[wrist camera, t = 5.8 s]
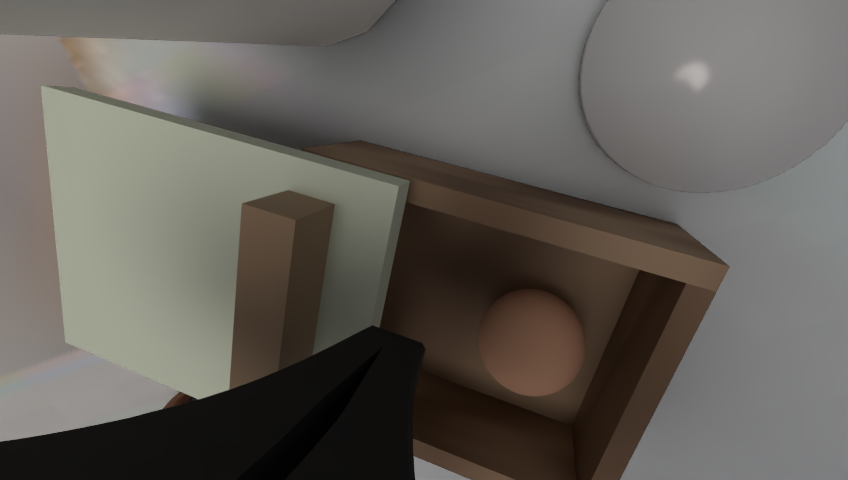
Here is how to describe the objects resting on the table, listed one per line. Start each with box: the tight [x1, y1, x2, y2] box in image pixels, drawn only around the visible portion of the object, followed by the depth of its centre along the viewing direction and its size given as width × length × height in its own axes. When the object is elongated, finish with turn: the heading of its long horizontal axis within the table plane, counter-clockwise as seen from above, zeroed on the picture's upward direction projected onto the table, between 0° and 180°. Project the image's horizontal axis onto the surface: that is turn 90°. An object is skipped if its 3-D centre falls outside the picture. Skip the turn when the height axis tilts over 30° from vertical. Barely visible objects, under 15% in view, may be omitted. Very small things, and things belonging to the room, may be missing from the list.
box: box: [302, 141, 730, 480], centre depth 12 cm, size 10×8×4 cm
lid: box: [41, 85, 410, 399], centre depth 11 cm, size 10×8×2 cm
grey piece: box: [578, 0, 848, 193], centre depth 10 cm, size 6×6×1 cm
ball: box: [478, 289, 586, 396], centre depth 12 cm, size 3×3×3 cm
